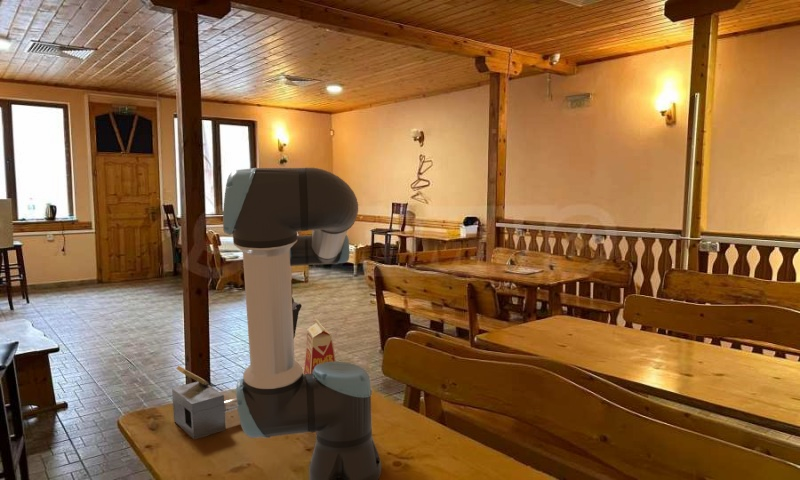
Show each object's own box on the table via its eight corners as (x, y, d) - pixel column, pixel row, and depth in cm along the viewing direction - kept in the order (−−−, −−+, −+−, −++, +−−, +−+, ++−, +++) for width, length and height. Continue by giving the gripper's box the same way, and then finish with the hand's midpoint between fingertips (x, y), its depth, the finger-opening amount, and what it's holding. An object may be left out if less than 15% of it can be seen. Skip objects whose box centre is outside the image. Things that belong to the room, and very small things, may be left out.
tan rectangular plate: (207, 386, 143) (209, 383, 144) (182, 373, 139) (185, 370, 139) (200, 381, 147) (202, 378, 147) (175, 368, 143) (178, 365, 143)
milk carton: (302, 382, 169) (299, 319, 167) (330, 377, 173) (328, 315, 171) (310, 392, 161) (307, 326, 159) (340, 387, 165) (337, 322, 163)
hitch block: (226, 429, 138) (224, 395, 137) (194, 439, 133) (191, 404, 132) (204, 412, 149) (202, 380, 148) (174, 421, 144) (171, 388, 143)
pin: (270, 405, 147) (269, 388, 147) (214, 422, 137) (213, 405, 137) (262, 400, 151) (261, 384, 150) (207, 417, 141) (205, 399, 140)
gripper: (292, 276, 156) (295, 357, 159) (249, 283, 147) (253, 368, 150) (306, 280, 150) (309, 363, 153) (262, 287, 141) (266, 375, 144)
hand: (281, 365), depth 151 cm, fingers closed
